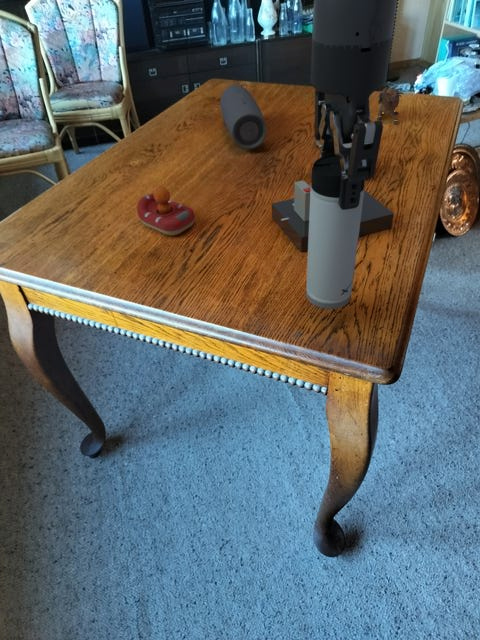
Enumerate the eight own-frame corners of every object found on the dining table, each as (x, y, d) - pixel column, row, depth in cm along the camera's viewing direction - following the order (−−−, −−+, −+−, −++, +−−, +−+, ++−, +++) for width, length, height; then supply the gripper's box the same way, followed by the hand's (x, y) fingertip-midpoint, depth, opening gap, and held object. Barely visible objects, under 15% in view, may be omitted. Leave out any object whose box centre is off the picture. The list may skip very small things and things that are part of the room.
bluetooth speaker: (270, 152, 112) (269, 108, 105) (231, 157, 111) (228, 113, 105) (253, 119, 129) (251, 80, 122) (220, 123, 128) (216, 84, 121)
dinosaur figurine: (398, 128, 118) (404, 89, 112) (374, 127, 120) (379, 88, 113) (401, 109, 127) (407, 72, 121) (378, 108, 129) (383, 72, 123)
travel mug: (356, 309, 64) (376, 168, 50) (308, 311, 64) (314, 171, 51) (349, 281, 68) (365, 145, 55) (304, 283, 69) (309, 148, 55)
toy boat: (160, 207, 95) (153, 172, 90) (202, 224, 89) (197, 187, 84) (132, 224, 91) (123, 188, 86) (174, 242, 85) (167, 205, 80)
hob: (354, 197, 94) (356, 182, 91) (391, 228, 84) (394, 212, 82) (267, 218, 90) (267, 203, 87) (296, 253, 80) (296, 237, 78)
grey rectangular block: (293, 210, 85) (294, 180, 81) (302, 208, 86) (303, 178, 82) (304, 221, 82) (305, 191, 78) (313, 219, 82) (315, 189, 79)
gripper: (293, 22, 49) (291, 173, 61) (339, 53, 39) (327, 229, 50) (361, 15, 50) (347, 165, 61) (424, 43, 40) (393, 218, 51)
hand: (338, 193), depth 56 cm, fingers closed on travel mug, 6 cm apart
